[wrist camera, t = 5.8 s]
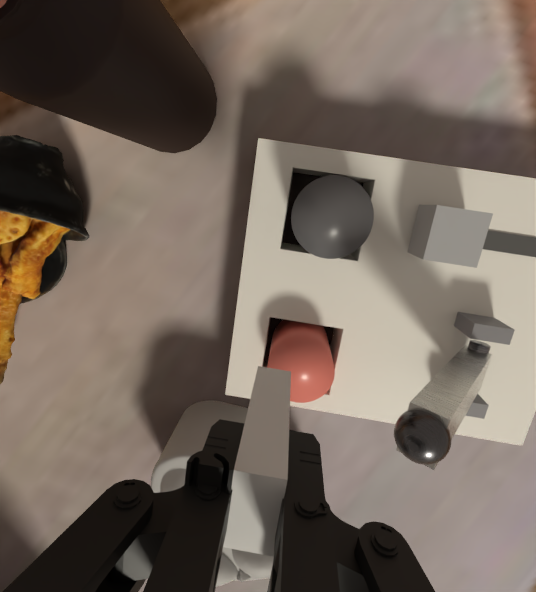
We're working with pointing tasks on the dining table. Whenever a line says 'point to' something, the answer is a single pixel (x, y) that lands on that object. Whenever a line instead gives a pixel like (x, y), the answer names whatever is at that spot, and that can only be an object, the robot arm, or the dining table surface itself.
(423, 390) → the lever
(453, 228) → the slider knob
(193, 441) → the lumpy-topped squat cylinder
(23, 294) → the fried shrimp in bowl
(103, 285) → the dining table surface
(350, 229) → the button black
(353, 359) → the panel
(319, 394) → the button red
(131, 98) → the bottle
